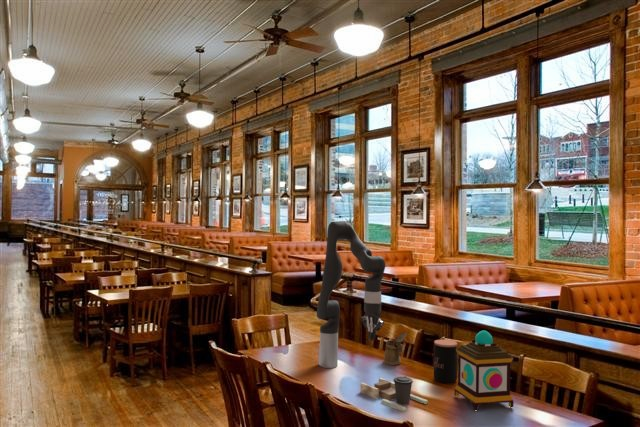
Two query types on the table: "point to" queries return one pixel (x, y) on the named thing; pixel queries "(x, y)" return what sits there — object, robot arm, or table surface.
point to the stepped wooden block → (373, 389)
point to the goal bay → (402, 406)
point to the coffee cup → (403, 389)
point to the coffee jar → (445, 361)
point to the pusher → (385, 390)
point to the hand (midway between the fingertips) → (372, 340)
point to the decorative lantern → (484, 372)
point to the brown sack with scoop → (394, 350)
